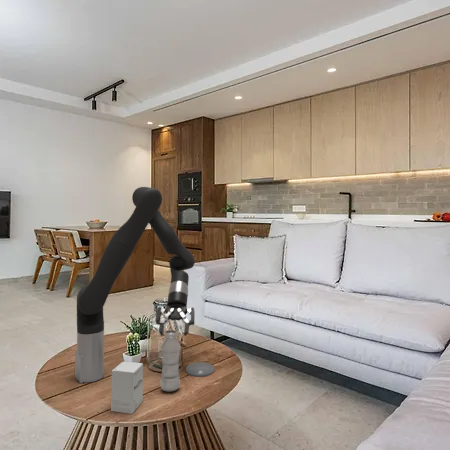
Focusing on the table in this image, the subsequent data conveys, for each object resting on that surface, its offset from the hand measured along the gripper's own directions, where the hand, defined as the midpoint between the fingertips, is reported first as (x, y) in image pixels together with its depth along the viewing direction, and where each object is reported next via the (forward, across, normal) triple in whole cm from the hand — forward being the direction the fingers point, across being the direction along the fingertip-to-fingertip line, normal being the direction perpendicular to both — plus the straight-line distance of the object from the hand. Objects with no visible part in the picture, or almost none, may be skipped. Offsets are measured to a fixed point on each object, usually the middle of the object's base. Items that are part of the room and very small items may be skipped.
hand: (173, 334), depth 128 cm
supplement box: (+24, -12, 0) cm, 27 cm away
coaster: (+6, +9, +18) cm, 21 cm away
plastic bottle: (+17, 0, +7) cm, 18 cm away
